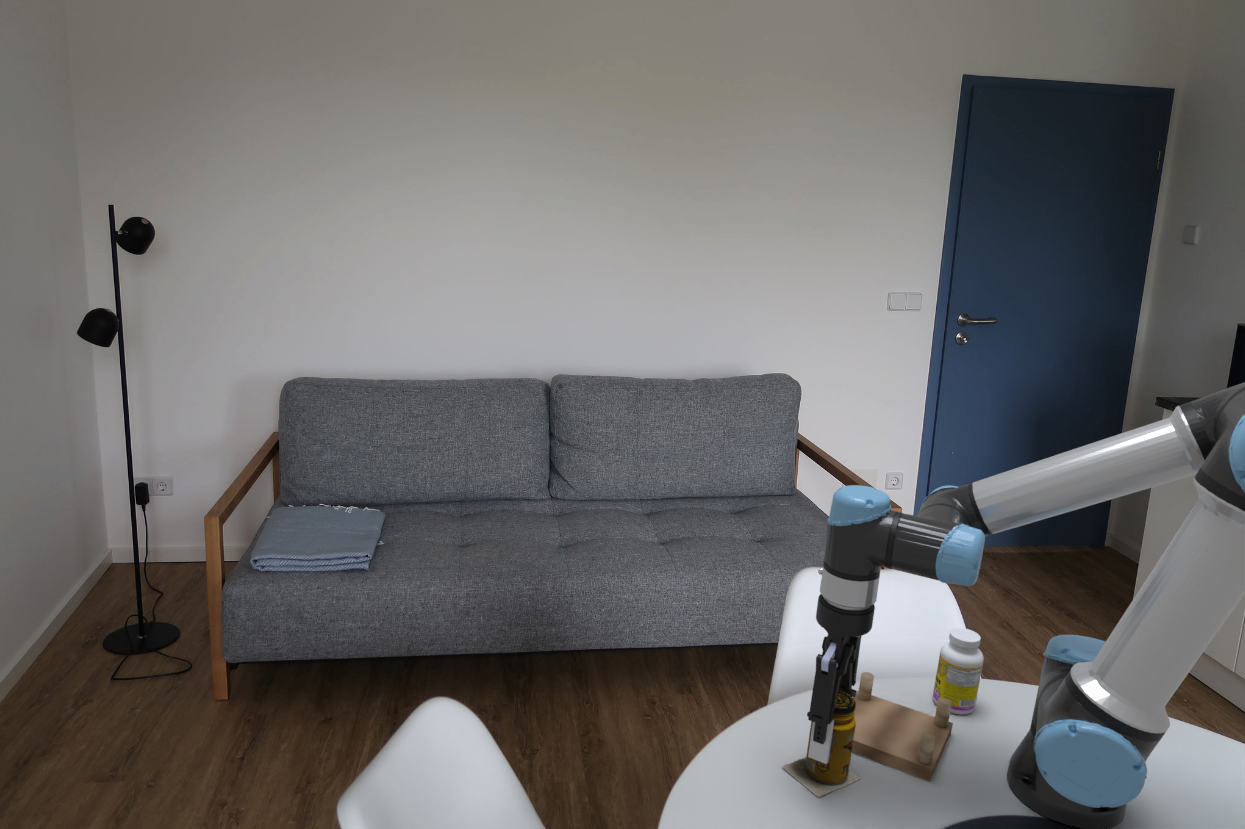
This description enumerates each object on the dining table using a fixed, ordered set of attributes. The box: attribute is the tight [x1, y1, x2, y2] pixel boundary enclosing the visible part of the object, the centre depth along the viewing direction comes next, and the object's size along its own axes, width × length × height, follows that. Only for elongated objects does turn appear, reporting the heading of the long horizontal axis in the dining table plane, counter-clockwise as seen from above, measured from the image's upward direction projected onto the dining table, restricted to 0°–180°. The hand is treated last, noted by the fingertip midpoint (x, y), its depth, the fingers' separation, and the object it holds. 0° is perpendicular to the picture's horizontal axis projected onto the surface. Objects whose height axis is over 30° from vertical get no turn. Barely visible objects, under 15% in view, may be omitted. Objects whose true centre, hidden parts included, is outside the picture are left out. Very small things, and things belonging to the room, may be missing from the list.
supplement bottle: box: [932, 627, 985, 715], centre depth 145 cm, size 7×7×13 cm
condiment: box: [782, 690, 862, 798], centre depth 125 cm, size 7×8×12 cm
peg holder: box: [851, 671, 954, 782], centre depth 135 cm, size 15×14×6 cm
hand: (826, 746), depth 126 cm, fingers closed on condiment, 6 cm apart
